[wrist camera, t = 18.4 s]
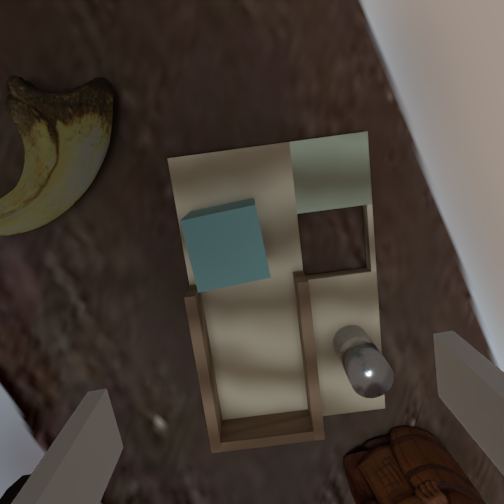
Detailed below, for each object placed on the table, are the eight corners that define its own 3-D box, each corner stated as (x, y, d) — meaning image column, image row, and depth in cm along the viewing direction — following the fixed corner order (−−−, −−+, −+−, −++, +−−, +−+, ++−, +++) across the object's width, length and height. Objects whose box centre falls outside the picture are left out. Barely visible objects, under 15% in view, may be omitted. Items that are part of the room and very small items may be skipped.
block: (190, 211, 37) (179, 220, 31) (253, 197, 37) (255, 204, 31) (205, 272, 38) (198, 292, 33) (266, 259, 38) (270, 277, 32)
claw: (63, 39, 35) (42, 24, 32) (150, 124, 36) (138, 119, 33) (-68, 200, 38) (-101, 202, 35) (15, 275, 39) (-8, 284, 36)
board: (170, 158, 37) (167, 158, 36) (362, 132, 37) (367, 131, 36) (215, 420, 44) (214, 429, 42) (380, 399, 43) (385, 408, 42)
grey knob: (331, 327, 40) (349, 361, 33) (367, 322, 40) (392, 356, 33) (334, 360, 41) (352, 400, 34) (369, 355, 41) (394, 395, 34)
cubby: (189, 285, 39) (184, 297, 35) (303, 270, 38) (308, 281, 35) (214, 429, 42) (211, 453, 39) (318, 416, 42) (325, 439, 39)
